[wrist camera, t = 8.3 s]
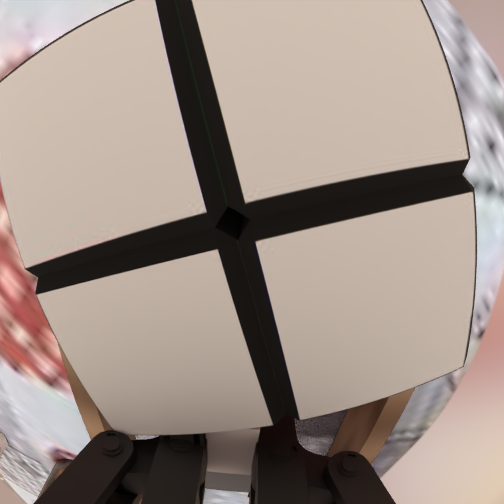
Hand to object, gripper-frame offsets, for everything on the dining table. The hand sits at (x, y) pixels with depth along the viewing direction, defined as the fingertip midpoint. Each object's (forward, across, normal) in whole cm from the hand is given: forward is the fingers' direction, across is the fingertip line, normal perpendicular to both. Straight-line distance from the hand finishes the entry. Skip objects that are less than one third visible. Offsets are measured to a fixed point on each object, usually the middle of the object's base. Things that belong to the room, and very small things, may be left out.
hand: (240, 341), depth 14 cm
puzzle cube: (+3, 0, -7) cm, 8 cm away
